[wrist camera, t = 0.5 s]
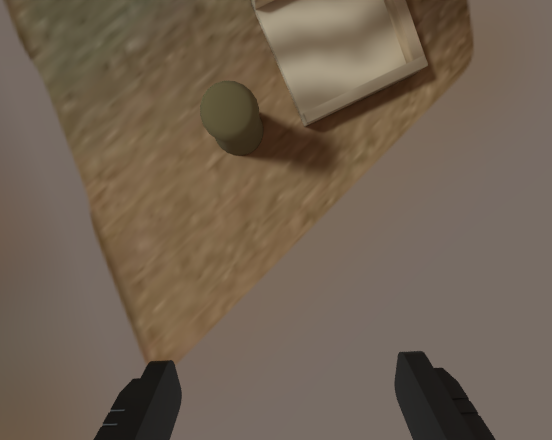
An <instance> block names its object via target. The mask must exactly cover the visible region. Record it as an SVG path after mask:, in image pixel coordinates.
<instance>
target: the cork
mask: <svg viewBox="0 0 552 440" xmlns="http://www.w3.org/2000/svg"><path fill="white" fill-rule="evenodd" d="M200 116H201V119H202V122H203V125H204V127H205V128H206V130H207V131H208V132H209V134H211V135H212V136H213V137H215V139H216V141H217V143H218V144H219V146H220V147H221V148H222V149H223V150H225V151H226V152H227V153H230V154H233V155H245V154H249V153H251V152H252V151H253V150H255V149H256V148H257V147H258V145H259V144H260V143H261V140H262V137H263V125H262V121H261V119H260V117H259V107H258V103H257V100H256V98H255V97H254V95H253V94H252V92H251V91H250V90H249V89H248V88H246V87H245V86H244V85H242V84H240V83H237V82H235V81H222V82H219V83H216V84H214V85H213V86H211V87H210V88H209V89H208V90H207V91H206V93H205V94H204V96H203V98H202V102H201V105H200Z"/></svg>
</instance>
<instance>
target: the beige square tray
mask: <svg viewBox="0 0 552 440" xmlns="http://www.w3.org/2000/svg"><path fill="white" fill-rule="evenodd" d="M251 4H252V6H253V9H254V11H255V13H256V16H257V18H258V20H259V23H260V25H261V27H262V30H263V32H264V34H265V37H266V39H267V41H268V43H269V46H270V48H271V50H272V53H273V55H274V57H275V60H276V62H277V64H278V67H279V69H280V71H281V73H282V76H283V78H284V80H285V83H286V85H287V87H288V90H289V92H290V94H291V97H292V99H293V101H294V104H295V106H296V108H297V110H298V113H299V115H300V117H301V120H302V122H303V124H304V127H305V126H307V125H309V124H311V123H313V122H316V121H318V120H320V119H322V118H324V117H326V116H328V115H330V114H332V113H334V112H337V111H339V110H341V109H343V108H345V107H347V106H349V105H351V104H353V103H355V102H357V101H360V100H362V99H364V98H366V97H368V96H370V95H372V94H374V93H376V92H378V91H380V90H383V89H385V88H387V87H389V86H391V85H393V84H395V83H397V82H399V81H401V80H404V79H406V78H408V77H410V76H412V75H414V74H416V73H418V72H419V71H421V70H422V69H424V68H425V67H427V66H428V63H427V60H426V58H425V55H424V52H423V49H422V46H421V43H420V40H419V37H418V35H417V32H416V29H415V26H414V23H413V20H412V17H411V15H410V12H409V9H408V6H407V3H406V0H251Z"/></svg>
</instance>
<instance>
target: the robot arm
mask: <svg viewBox="0 0 552 440" xmlns="http://www.w3.org/2000/svg"><path fill="white" fill-rule="evenodd" d="M395 393H396V397H397V400H398V403H399V406H400V408H401V411H402V413H403V416H404V418H405V421H406V423H407V426H408V428H409V430H410V433H411V436H412V438H413V440H495V438H494V436H493V435H492V433H491V432H490V430H489V429H488V427H487V426H486V424H485V423H484V421H483V420H482V418H481V417H480V416H479V415H478V412H477V410H476V409H475V407H474V406H473V404H472V403H471V402H470V401H469V399H468V397H467V395H466V393H465V392H464V391H463V389H462V387H461V386H460V384H459V383H458V381H457V380H456V379H454V378H453V377H452V376H451V375H450V374H449V373H448V372H446V371H445V370H444V369H443V368H433V366H432V365H431V363H430V361H429V359H428V358H427V357H426V355H425V353H424V352H422V351H414V352H399V354H398V360H397V367H396V375H395ZM181 398H182V392H181V387H180V383H179V379H178V375H177V372H176V369H175V364H174V362H173V361H172V360H170V361H151V362H150V363H149V364H148V365H147V367H146V369H145V371H144V373H143V375H142V376H141V378H140V379H139V378H138V379H132V381H131V382H130V383H129V384H128V385H127V386H126V387H125V388H124V389H123V390H122V391H121V392H120V393H119V395H118V397H117V399H116V400H115V402H114V404H113V406H112V408H111V411H110V413H108V415H107V417H106V419H105V420H104V422H103V426H102V427H101V428H100V429H99V431H98V433H97V435H96V437H95V438H94V440H169V439H170V437H171V434H172V431H173V428H174V424H175V421H176V418H177V415H178V412H179V409H180V405H181Z"/></svg>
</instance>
